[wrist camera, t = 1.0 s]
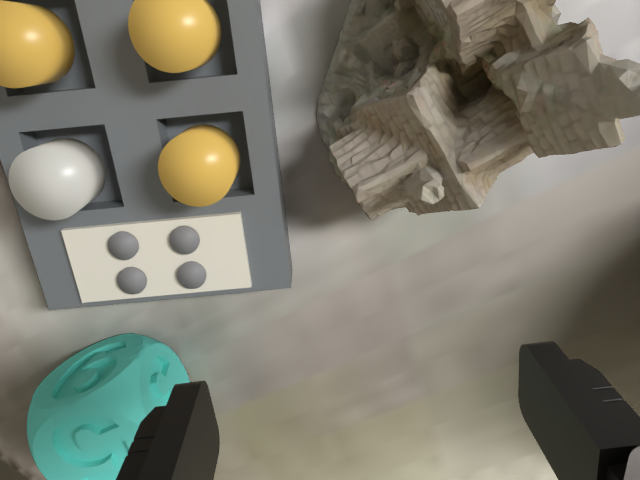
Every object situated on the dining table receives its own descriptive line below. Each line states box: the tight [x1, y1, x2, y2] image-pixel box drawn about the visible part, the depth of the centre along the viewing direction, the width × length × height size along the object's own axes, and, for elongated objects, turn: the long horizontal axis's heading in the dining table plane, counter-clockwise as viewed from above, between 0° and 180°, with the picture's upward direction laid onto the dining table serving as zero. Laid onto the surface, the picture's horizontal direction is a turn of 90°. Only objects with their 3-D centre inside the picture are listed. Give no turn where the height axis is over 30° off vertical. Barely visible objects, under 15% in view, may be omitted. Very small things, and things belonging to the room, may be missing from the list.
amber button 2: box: [128, 0, 221, 73], centre depth 26 cm, size 4×4×3 cm
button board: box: [0, 0, 292, 310], centre depth 31 cm, size 20×16×4 cm
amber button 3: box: [158, 124, 240, 207], centre depth 29 cm, size 4×4×3 cm
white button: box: [9, 138, 106, 220], centre depth 29 cm, size 4×4×3 cm
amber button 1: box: [0, 0, 75, 88], centre depth 26 cm, size 4×4×3 cm
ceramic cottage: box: [317, 0, 640, 220], centre depth 25 cm, size 16×16×15 cm
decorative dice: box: [27, 334, 190, 480], centre depth 36 cm, size 8×8×8 cm
